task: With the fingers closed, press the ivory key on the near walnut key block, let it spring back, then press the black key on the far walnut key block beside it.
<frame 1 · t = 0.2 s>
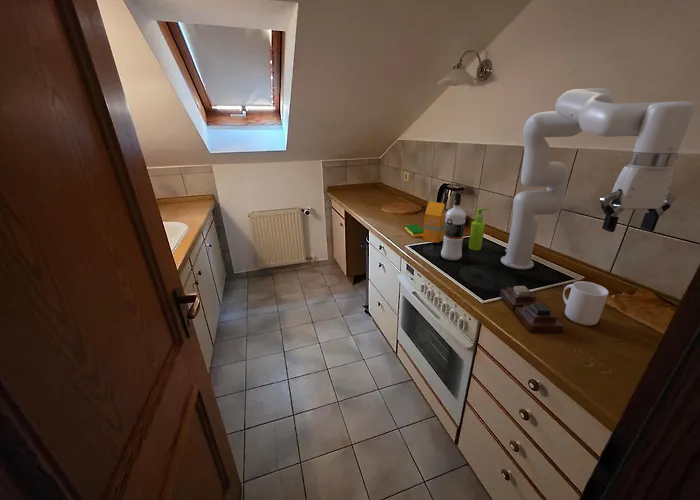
hand: (627, 230, 76), 31 cm above the worktop, tool pointing down, fingers open, 9 cm apart
dish sponge: (414, 232, 169), on the worktop
vodka: (451, 257, 137), on the worktop
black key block: (536, 321, 92), on the worktop
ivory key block: (518, 302, 102), on the worktop
mug: (575, 315, 95), on the worktop
key black: (540, 309, 90), point 4 cm above the worktop, slide at 0.1 cm
orange juice: (433, 239, 159), on the worktop
key ivory: (521, 290, 100), point 4 cm above the worktop, slide at 0.1 cm
soap dispenser: (475, 248, 146), on the worktop
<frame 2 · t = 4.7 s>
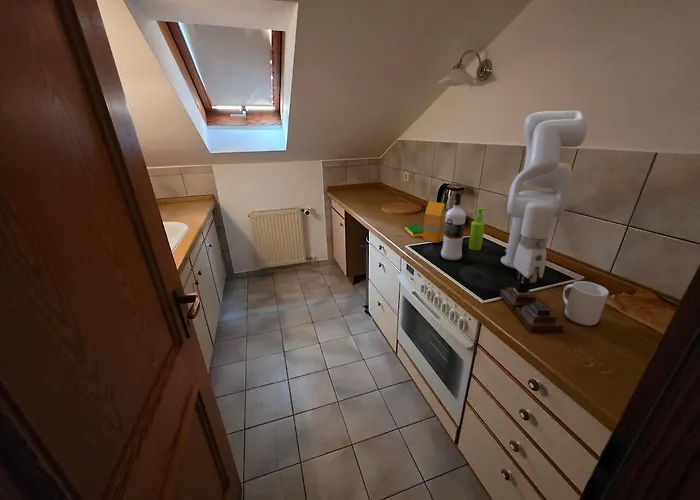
hand: (521, 291, 100), 4 cm above the worktop, tool pointing down, fingers closed
key ivory: (520, 293, 101), point 3 cm above the worktop, slide at -0.9 cm, touching gripper
everything else where it was.
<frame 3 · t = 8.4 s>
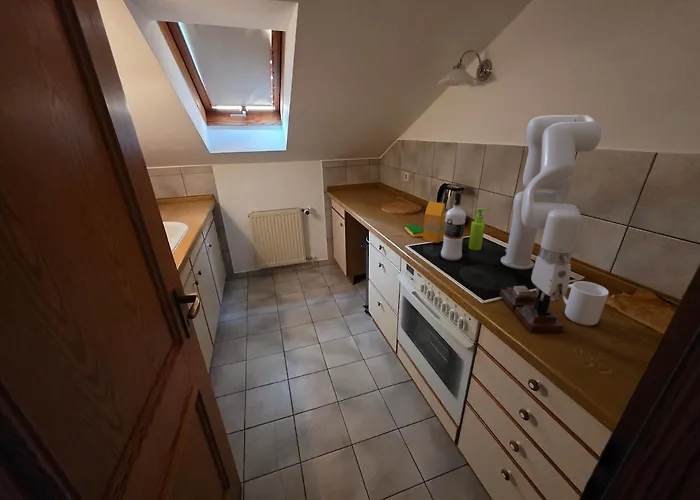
hand: (540, 309, 90), 5 cm above the worktop, tool pointing down, fingers closed
key black: (539, 311, 91), point 4 cm above the worktop, slide at -0.7 cm, touching gripper
key ivory: (521, 290, 100), point 4 cm above the worktop, slide at 0.1 cm
everything else where it was.
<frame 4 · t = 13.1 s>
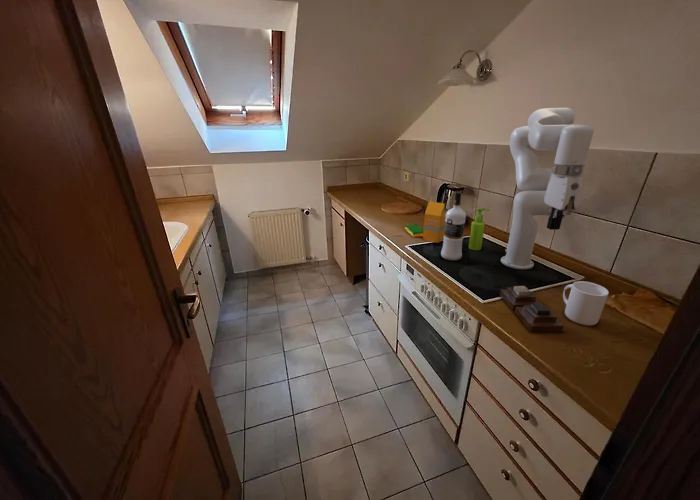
hand: (552, 228, 96), 25 cm above the worktop, tool pointing down, fingers closed
key black: (540, 309, 90), point 4 cm above the worktop, slide at 0.1 cm
everything else where it was.
at the end: key ivory pushed in 1.1 cm at the most during the clip, back to where it started at the end; key black pushed in 1.1 cm at the most during the clip, back to where it started at the end; key black slide at 0.1 cm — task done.
